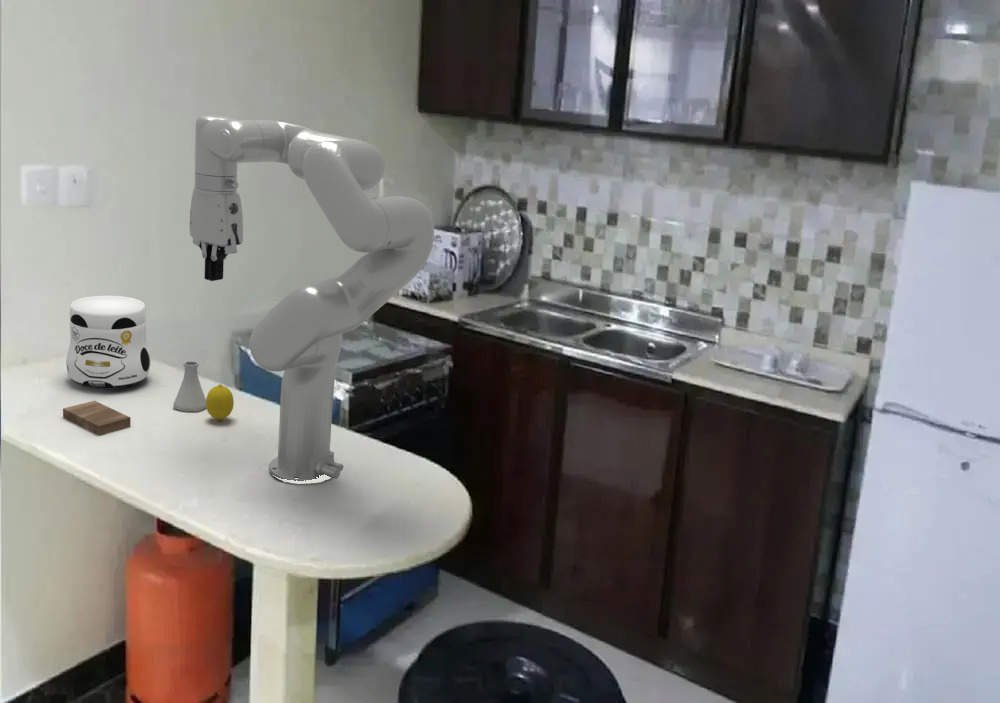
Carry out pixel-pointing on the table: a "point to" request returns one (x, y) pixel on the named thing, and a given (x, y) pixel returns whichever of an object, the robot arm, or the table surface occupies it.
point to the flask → (190, 390)
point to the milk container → (108, 342)
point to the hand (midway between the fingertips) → (213, 279)
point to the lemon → (219, 402)
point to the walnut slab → (96, 418)
